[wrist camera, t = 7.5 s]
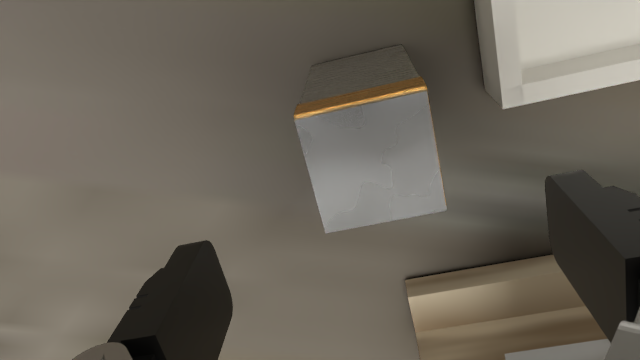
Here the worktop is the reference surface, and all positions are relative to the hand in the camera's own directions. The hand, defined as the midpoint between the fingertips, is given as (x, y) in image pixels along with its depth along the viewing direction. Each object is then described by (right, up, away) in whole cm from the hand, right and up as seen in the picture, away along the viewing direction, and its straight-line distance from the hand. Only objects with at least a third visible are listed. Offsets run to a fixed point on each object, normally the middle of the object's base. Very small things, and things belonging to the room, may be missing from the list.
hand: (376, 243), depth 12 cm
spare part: (+1, +5, +11) cm, 12 cm away
